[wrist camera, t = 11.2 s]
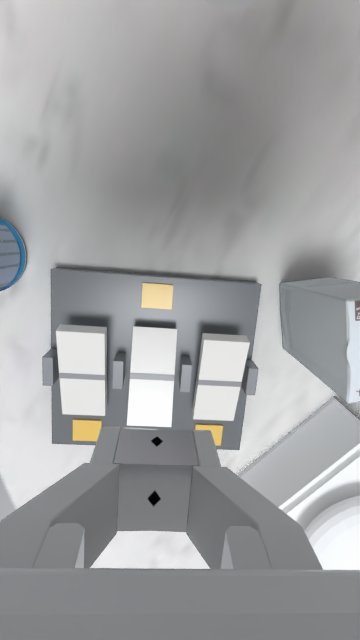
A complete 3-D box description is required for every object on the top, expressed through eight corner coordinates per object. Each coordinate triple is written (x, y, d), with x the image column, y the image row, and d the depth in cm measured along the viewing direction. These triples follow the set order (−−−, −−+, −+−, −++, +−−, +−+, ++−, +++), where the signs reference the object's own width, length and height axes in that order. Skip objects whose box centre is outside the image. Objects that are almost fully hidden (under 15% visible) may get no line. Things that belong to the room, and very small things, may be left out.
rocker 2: (134, 326, 35) (133, 326, 34) (176, 328, 35) (177, 329, 34) (127, 421, 35) (126, 425, 33) (170, 423, 35) (171, 427, 34)
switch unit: (56, 267, 36) (41, 271, 31) (256, 282, 37) (269, 288, 33) (57, 433, 40) (43, 459, 36) (235, 440, 42) (245, 465, 37)
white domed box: (332, 396, 42) (434, 486, 26) (408, 483, 45) (538, 608, 30) (226, 482, 43) (264, 614, 28) (308, 559, 47) (381, 713, 32)
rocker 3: (202, 333, 33) (204, 340, 32) (246, 335, 34) (250, 343, 32) (192, 410, 38) (193, 419, 36) (231, 412, 38) (233, 421, 37)
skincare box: (328, 342, 40) (425, 399, 25) (279, 349, 40) (348, 410, 25) (327, 272, 38) (432, 290, 23) (275, 278, 38) (348, 301, 23)
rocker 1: (59, 324, 32) (55, 331, 31) (106, 327, 33) (104, 334, 31) (65, 405, 37) (62, 414, 35) (107, 407, 37) (105, 416, 36)
